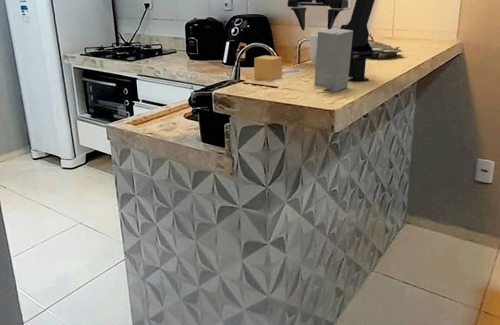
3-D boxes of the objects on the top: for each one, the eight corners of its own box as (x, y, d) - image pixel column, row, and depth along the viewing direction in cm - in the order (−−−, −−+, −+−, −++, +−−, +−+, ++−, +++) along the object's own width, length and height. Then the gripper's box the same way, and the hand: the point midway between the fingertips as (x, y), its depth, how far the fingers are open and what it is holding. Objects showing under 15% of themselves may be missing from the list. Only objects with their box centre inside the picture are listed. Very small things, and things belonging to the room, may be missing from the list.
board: (311, 75, 153) (311, 71, 152) (276, 88, 135) (276, 83, 135) (280, 72, 158) (280, 68, 158) (242, 83, 141) (242, 79, 140)
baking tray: (413, 56, 193) (414, 42, 191) (389, 63, 177) (391, 47, 175) (345, 49, 211) (346, 36, 209) (318, 54, 195) (319, 40, 193)
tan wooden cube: (281, 77, 142) (282, 57, 140) (271, 81, 138) (272, 59, 136) (264, 75, 145) (264, 55, 143) (254, 79, 141) (254, 58, 139)
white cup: (330, 66, 168) (332, 36, 165) (307, 65, 170) (309, 36, 166) (331, 62, 175) (333, 34, 172) (309, 62, 177) (311, 33, 173)
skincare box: (328, 84, 140) (331, 27, 134) (350, 88, 135) (355, 29, 130) (312, 89, 133) (314, 30, 128) (335, 93, 129) (338, 31, 124)
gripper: (356, -21, 154) (352, 30, 159) (303, -21, 163) (301, 27, 169) (342, -21, 145) (339, 33, 150) (287, -21, 154) (286, 30, 160)
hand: (316, 31), depth 158 cm, fingers open, 9 cm apart
